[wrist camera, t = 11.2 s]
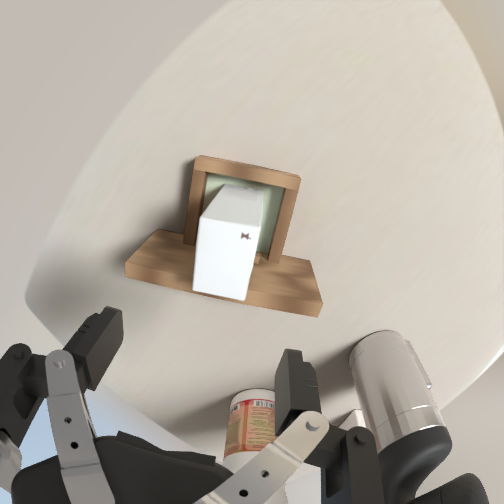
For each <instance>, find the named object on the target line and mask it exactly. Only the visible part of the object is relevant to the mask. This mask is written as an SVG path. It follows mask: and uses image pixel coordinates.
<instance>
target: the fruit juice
mask: <svg viewBox="0 0 504 504" xmlns="http://www.w3.org/2000/svg"><path fill="white" fill-rule="evenodd" d="M277 438H278V437H277V436H275V392H273V391H270V390H266V389H250V390H245V391H243V392H240V393H238V394H237V395H236V396H235V397H234V398H233V400H232V402H231V405H230V412H229V420H228V428H227V436H226V444H225V451H224V459H223V466H224V467H226V468H227V469H229V470H230V471H231V472H232V473H234V474H235V473H236V472H237V471H238V470H240V469H241V468H242V467H243V466H244V465H245V464H247V463H248V462H249V461H250V460H251V459H252V458H253V457H255V456H256V455H257V454H258V453H259V452H260V451H261V450H262V449H263V448H264V447H266V446H267V445H268V444H269V443H270V442H274V441H275V440H276V439H277ZM286 482H287V480H286V481H285V482H284V484H283V485H282V486H281V487H280V488H279V489H278V490H277V491H276V492H275V493H274V494H273V495H272V496H271V497H270V498H269V499H268V500H267V501H266V502H265V503H264V504H288V498H287V495H286V492H285V484H286Z"/></svg>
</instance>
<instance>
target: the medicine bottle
mask: <svg viewBox="0 0 504 504" xmlns="http://www.w3.org/2000/svg"><path fill="white" fill-rule="evenodd" d="M355 426H362V427H365V428H366V425H365V421H364V417H363V414H362V410H354V411H353V412H352V413H351V414H350V415H349V416H348V418H347V419H346V420H345V421H344V422H343V423H342V424H341V425H340V426H339V427H338V428H341V429H344V430H347V431H348V430H349V429H350V428H352V427H355Z"/></svg>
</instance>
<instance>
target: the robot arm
mask: <svg viewBox="0 0 504 504" xmlns="http://www.w3.org/2000/svg"><path fill="white" fill-rule="evenodd" d="M122 341H123V320H122V311H121V310H118V309H115V308H112V307H109V306H107V307H105V308H104V310H103V311H102V312H101V314H97V313H95V314H93V315H91V316H90V317H88V318H87V319H86V320H85V322H84V323H83V324H82V326H80V328H79V329H78V331H77V332H76V333H75V334H74V335H73V337H72V338H71V339H70V340H69V342H68V343H67V344H66V346H65V347H64V348H63V349H62V350H55V351H52V352H51V353H49V354H48V355H47V356H44V355H37V354H32V352H31V350H30V348H29V347H28V346H27V345H25V344H22V343H19V344H14V345H12V346H11V347H10V348H9V349H8V350H7V351H6V353H5V354H4V356H3V357H2V358H1V359H0V487H2V488H3V489H4V490H6V491H7V492H9V493H10V494H11V497H12V504H264V503H265V502H266V501H267V500H268V499H269V498H270V497H271V496H272V495H273V494H274V493H275V492H276V491H277V490H278V489H279V488H280V487H281V486H282V485H283V484H284V482H285V481H286V480H287V479H288V478H289V477H290V476H291V475H292V474H293V473H294V472H295V471H296V469H297V468H298V467H299V466H300V465H301V464H302V462H304V463H307V464H310V465H314V466H317V467H320V468H321V504H489V501H488V498H487V495H486V492H485V489H484V487H483V485H482V483H481V481H480V480H479V479H478V477H476V476H475V475H474V474H471V473H466V474H464V475H461V476H459V477H458V478H455V479H454V480H452V481H450V482H448V483H446V484H444V485H442V486H440V487H438V488H436V489H434V490H432V491H430V492H428V493H426V494H424V495H422V496H420V497H417V498H415V494H416V491H417V489H418V488H419V486H420V485H421V484H422V482H423V481H424V480H425V479H426V477H427V476H428V475H429V474H430V473H431V472H432V471H433V470H434V469H435V468H436V467H437V466H438V465H439V464H440V463H441V462H443V461H444V460H445V458H446V457H447V456H448V455H449V453H450V451H451V449H452V440H451V437H450V435H449V432H448V430H447V428H446V426H445V423H444V421H443V419H442V417H441V414H440V412H439V410H438V408H437V405H436V403H435V401H434V399H433V397H432V394H431V392H430V390H429V389H430V388H431V386H432V384H431V382H430V380H429V378H428V376H427V374H426V372H425V370H424V368H423V366H422V364H421V362H420V360H419V358H418V356H417V354H416V353H415V351H414V349H413V347H412V345H411V343H410V342H409V341H405V340H404V339H403V337H402V336H401V335H400V334H399V333H396V332H394V331H381V332H376V333H374V334H371V335H369V336H367V337H366V338H364V339H363V340H361V341H360V342H359V343H358V344H357V345H356V346H355V347H354V348H353V350H352V351H351V354H350V356H349V366H350V369H351V373H352V376H353V380H354V384H355V387H356V391H357V395H358V398H359V402H360V406H361V410H362V414H363V417H364V421H365V425H366V428H365V427H362V426H355V427H352V428H350V429H349V430H348V431H347V430H344V429H341V428H337V427H335V426H332V425H331V424H329V422H328V420H327V419H326V417H325V416H324V415H322V413H321V407H320V400H319V393H318V388H317V381H316V373H315V370H314V368H313V367H312V365H311V364H310V363H309V362H303V358H302V352H301V351H299V350H292V349H285V351H284V353H283V356H282V358H281V361H280V363H279V366H278V368H277V371H276V375H275V436H277V437H278V438H277V439H276V440H275V441H274V442H270V443H269V444H268V445H267V446H266V447H264V448H263V449H262V450H261V451H260V452H259V453H258V454H257V455H256V456H255V457H253V458H252V459H251V460H250V461H249V462H248V463H247V464H245V465H244V466H243V467H242V468H241V469H240V470H238V471H237V472H236V473H235V474H234V473H232V472H231V471H230V470H229V469H227V468H226V467H224V466H222V465H220V464H218V463H215V459H216V457H215V456H210V455H205V454H200V453H195V452H179V451H165V450H162V449H160V448H158V447H156V446H154V445H152V444H151V443H149V442H147V441H145V440H144V439H141V438H139V437H136V436H133V435H130V434H127V433H124V432H121V431H118V434H117V436H101V437H97V435H96V432H95V430H94V427H93V424H92V420H91V417H90V414H89V410H88V407H87V403H86V399H85V395H84V393H85V391H86V389H90V390H92V391H95V389H96V388H97V386H98V384H99V382H100V380H101V379H102V377H103V375H104V373H105V372H106V370H107V368H108V366H109V365H110V363H111V361H112V359H113V358H114V356H115V354H116V353H117V351H118V349H119V348H120V346H121V344H122ZM44 398H47V405H48V411H49V416H50V422H51V427H52V432H53V437H54V441H55V445H56V450H57V454H58V455H56V456H53V457H51V458H49V459H46V460H44V461H41V462H39V463H36V464H34V465H31V466H29V467H26V468H24V469H22V470H21V468H20V467H21V460H22V455H21V452H20V450H19V447H20V445H21V443H22V440H23V438H24V436H25V434H26V432H27V430H28V428H29V426H30V424H31V422H32V420H33V418H34V416H35V414H36V413H37V411H38V409H39V407H40V405H41V403H42V402H43V400H44Z"/></svg>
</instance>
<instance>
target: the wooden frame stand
mask: <svg viewBox="0 0 504 504" xmlns="http://www.w3.org/2000/svg"><path fill="white" fill-rule="evenodd" d="M300 182H301V178H300V177H299V176H298V175H295V174H291V173H287V172H282V171H278V170H273V169H269V168H264V167H260V166H255V165H250V164H245V163H240V162H235V161H230V160H224V159H219V158H213V157H208V156H202V155H201V156H198V157H195V163H194V169H193V175H192V181H191V188H190V194H189V201H188V208H187V216H186V223H185V231H184V234H179V233H174V232H170V231H165V230H160V229H157V230H156V231H155V232H154V233H153V234H152V235H151V236H150V237H149V238H148V239H147V240H146V241H145V242H144V243H143V244H142V245H141V246H140V247H139V248H138V249H137V250H136V252H135V253H134V254H133V255H132V256H131V257H130V258H129V259H128V260H127V261H126V262H125V277H129V278H132V279H136V280H140V281H144V282H148V283H152V284H156V285H161V286H165V287H169V288H173V289H177V290H182V291H186V292H190V293H195V294H199V295H204V296H208V297H213V298H218V299H222V300H227V301H232V302H237V303H242V304H247V305H252V306H257V307H262V308H268V309H273V310H278V311H284V312H289V313H295V314H301V315H307V316H313V317H318V315H319V313H320V310H321V308H322V305H323V302H322V299H321V296H320V292H319V289H318V285H317V282H316V279H315V276H314V272H313V269H312V266H311V263H310V261H309V260H304V259H299V258H294V257H290V256H285V255H281V254H282V251H283V247H284V243H285V240H286V236H287V232H288V228H289V224H290V221H291V217H292V213H293V209H294V205H295V201H296V197H297V194H298V190H299V186H300ZM225 184H231V185H237V186H242V187H248V188H253V189H258V190H263V191H264V194H263V206H262V222H261V229H260V234H259V239H258V244H257V249H256V254H255V258H254V263H253V268H252V272H251V275H250V280H249V285H248V289H247V294H246V298H245V300H244V301H240V300H236V299H231V298H226V297H221V296H217V295H212V294H208V293H203V292H198V291H193V290H192V286H193V274H194V264H195V252H196V241H197V233H198V226H199V219H200V217H201V215H202V214H203V212H204V211H205V210H206V208H207V207H208V206H209V204H210V203H211V202H212V200H213V199H214V198H215V196H216V195H217V194H218V192H219V191H220V190H221V188H222V187H223V186H224V185H225Z"/></svg>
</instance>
